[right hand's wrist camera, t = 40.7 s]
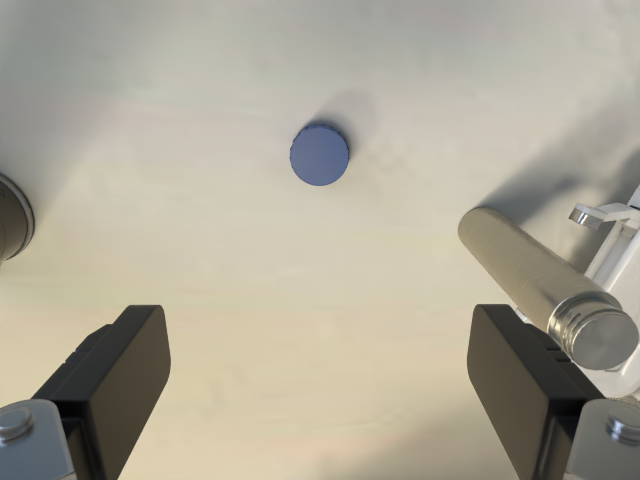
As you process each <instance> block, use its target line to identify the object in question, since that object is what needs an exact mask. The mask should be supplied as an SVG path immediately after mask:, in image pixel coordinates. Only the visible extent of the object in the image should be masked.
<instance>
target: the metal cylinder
mask: <svg viewBox="0 0 640 480" xmlns="http://www.w3.org/2000/svg"><path fill="white" fill-rule="evenodd" d="M458 235H459V238H460V240H461V242H462V243H463V245H464V246H465V247H466V248H467V249H468V250H469V251H470V253H471V254H472V255H473V256H474V257H475V258H476V259H477V261H478V262H479V263H480V264H481V265H482V266H483V267H484V268H485V270H486V271H487V272H488V273H489V274H490V275H491V276H492V278H493V279H494V280H495V281H496V282H497V283H498V284H499V286H500V287H501V288H502V289H503V290H504V291H505V292H506V294H507V295H508V296H509V297H510V298H511V299H512V300H513V302H514V303H515V304H516V305H517V306H518V307H519V308H520V309H521V311H522V312H523V313H524V314H525V315H526V316H527V317H528V319H529V320H530V321H531V322H532V323H533V324H534V325H535V327H537V328H539V329H540V330H542V331H544V332H545V333H547V334H549V335H550V336H551V338H552V339H553V340H554V341H555V342H556V343H557V344H558V345H559V346H560V347H561V351H564V352H565V353H566V354H567V355H568V356H569V357H570V358H571V359H572V360H573V361H574V362H575V363H576V364H577V365H578V366H581V367H583V368H585V369H589V370H594V371H596V370H606V369H610V368H614V367H616V366H618V365H620V364H621V363H623V362H624V361H626V360H627V359H628V358H629V357H630V356H631V355H632V354H633V352H634V351H635V349H636V347H637V345H638V341H639V331H638V328H637V326H636V324H635V323H634V322H633V320H632V318H631V317H630V316H629V315H628V314H627V313H626V312H624V311H623V309H622V306H621V304H620V303H619V301H618V300H617V299H616V298H615V297H614V296H612V295H611V294H610V293H608V292H607V291H606V290H604V289H603V288H601V287H600V286H599V285H597V284H596V283H595V282H593V281H592V280H591V279H589V278H588V277H586V276H585V275H584V274H582V273H581V272H580V271H578V270H577V269H576V268H574V267H573V266H571V265H570V264H569V263H567V262H566V261H565V260H563V259H562V258H561V257H559V256H558V255H556V254H555V253H554V252H552V251H551V250H550V249H548V248H547V247H546V246H544V245H543V244H541V243H540V242H539V241H537V240H536V239H535V238H533V237H532V236H531V235H529V234H528V233H526V232H525V231H524V230H522V229H521V228H520V227H518V226H517V225H516V224H514V223H513V222H511V221H510V220H509V219H507V218H506V217H505V216H503V215H502V214H501V213H499V212H498V211H496V210H495V209H493V208H489V207H479V208H476V209H473V210H471V211H470V212H468V213H467V214H466V215H465V216H464V217H463V218H462V220H461V222H460V224H459V228H458Z"/></svg>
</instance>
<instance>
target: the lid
mask: <svg viewBox="0 0 640 480" xmlns="http://www.w3.org/2000/svg"><path fill="white" fill-rule="evenodd" d="M293 142H294V143H293V145H292V147H291V149H290V150H291V152H290V161H291V165H292V168H293V170H294V172H295V173H296V175H297V176H298V177H299V178H300V179H301V180H303V181H304V182H306V183H308V184H311V185H315V186H324V185H328V184H331V183H333V182H335V181H336V180H337V179H339V178H340V177H341V176H342V174H343V173H344V171H345V169H346V168H347V164H348V159H349V155H348V150H349V149H348V147H347V146H346V143H345V142H346V141H345V139H343V137H342V136H341V135H340V132H337V131H336V130H335V129H333V127H329V126H325V125H324V124H323V125H316V124H314V125H313V126H310V127H308V128H307V127H306V129H304V130H303V131H301V132H299V134H298V136H297V137H296V139H294V140H293Z"/></svg>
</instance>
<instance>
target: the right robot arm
mask: <svg viewBox="0 0 640 480" xmlns="http://www.w3.org/2000/svg"><path fill="white" fill-rule="evenodd" d="M32 233H33V216H32V212H31V209H30V207H29V205H28V202H27V201H26V199H25V197H24V196H23V194H22V193H21V192H20V191H19V189H18V188H17V187H16V186H15V185H14V184H13V183H11V182H10V181H9V180H8V179H6V178H5V177H3V176H2V175H0V263H1V262H3V261H5V260H8V259H10V258H12V257H14V256H15V255H17V254H19V253H20V252H21V251H23V250H24V249H25V248H26V246H27V245H28V243H29V242H30V239H31V237H32ZM170 366H171V357H170V349H169V342H168V335H167V328H166V321H165V314H164V310H163V308H162V306H161V305H129V306H128V307H127V308H126V309H125V310H124V311H123V312H122V314H121V315H120V316H119V317H118V318H117V320H116V321H115V322H114V323H113V324H106V325H105V326H103V327H102V328H100V329H98V330H97V331H95V332H93V333H92V334H90V335H88V336H87V337H86V338H85V340H84V341H83V342H82V343H81V344H80V345H79V346H78V347H77V348H76V352H73V353H72V354H71V355H70V356H69V357H68V358H67V359H66V362H65V363H63V364H62V365H61V366H60V367H59V368H58V369H57V370H56V371H55V373H54V374H53V375H52V376H51V377H50V378H49V379H48V380H47V381H46V382H45V383H44V385H43V386H42V387H41V388H40V389H39V390H38V391H37V392H36V393H35V394H34V396H33V397H32V398H31V399H29V400H23V401H19V402H16V403H12V404H9V405H7V406H4V407H2V408H0V480H117V479H118V477H119V475H120V473H121V471H122V470H123V468H124V466H125V464H126V462H127V460H128V458H129V456H130V454H131V452H132V450H133V448H134V446H135V444H136V442H137V440H138V438H139V436H140V434H141V432H142V430H143V428H144V426H145V424H146V422H147V420H148V418H149V416H150V414H151V412H152V411H153V409H154V407H155V405H156V403H157V401H158V399H159V397H160V395H161V393H162V391H163V389H164V387H165V385H166V383H167V381H168V378H169V373H170ZM467 368H468V374H469V378H470V380H471V383H472V385H473V387H474V389H475V391H476V393H477V395H478V397H479V399H480V401H481V403H482V405H483V407H484V409H485V411H486V413H487V415H488V417H489V419H490V421H491V423H492V425H493V427H494V429H495V430H496V432H497V434H498V436H499V438H500V440H501V442H502V444H503V446H504V448H505V450H506V452H507V454H508V456H509V458H510V460H511V462H512V464H513V466H514V468H515V470H516V472H517V474H518V476H519V478H520V480H640V408H638V407H636V406H633V405H631V404H628V403H624V402H621V401H617V400H611V399H607V398H606V397H605V396H604V395H603V394H602V393H601V392H600V391H599V390H598V388H597V387H596V386H595V385H594V384H593V383H592V382H591V381H590V380H589V378H588V377H587V376H586V375H585V374H584V373H583V372H582V371H581V370H580V369H579V367H578V366H577V365H576V364H575V363H574V362H571V359H570V357H569V356H568V355H567V354H566V353H565V352H564V351H561V347H560V346H559V345H558V344H557V343H556V342H555V341H554V340H553V339H552V338H551V336H550V335H549V334H547V333H545V332H544V331H542V330H540V329H539V328H537V327H535V326H534V325H532V324H525V323H524V322H523V321H522V320H521V318H520V317H519V316H518V315H517V314H516V313H515V311H514V310H513V309H512V308H511V307H510V306H509V305H508V304H478V305H476V306H475V308H474V311H473V318H472V325H471V332H470V339H469V347H468V354H467Z"/></svg>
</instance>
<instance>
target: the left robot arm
mask: <svg viewBox="0 0 640 480" xmlns="http://www.w3.org/2000/svg"><path fill="white" fill-rule="evenodd" d="M569 219H571V220H573V221H574V222H576V223H578V224H581V225H583V226H587V227H589V228H591V229H594V230H598V228H599V227H600V225H601V224H602V222H606V221H613V220H616V221H617V222H616V223H615V225H614V226H613V228H612V230H611V231H610V233H609V235H608V236H607V238H606V239H605V241H604V243H603V244H602V246H601V248H600V249H599V251H598V252H597V254H596V256H595V257H594V259H593V260H592V262H591V264H590V265H589V267H588V269H587V270H586V272H585V273H584V275H585V276H586V277H588V278H589V279H591V280H592V281H593V282H595V283H596V284H597V285H599V286H600V287H601V288H603V289H604V290H606V291H607V292H608V293H610V294H611V295H612V296H614V297H615V298H616V299H617V300H618V301H619V303H620V304H621V306H622V309H623V311H624V312H626V313H627V314H628V315H629V316H630V317H631V318H632V320H633V322H634V323H635V324H636V326H637V328H638V331H639V341H638V345H637V347H636V349H635V351H634V352H633V354H632V355H631V356H630V357H629V358H628V359H627V360H626V361H624V362H623V363H621V364H620V365H618V366H616V367H614V368H610V369H606V370H596V371H594V370H589V369H585V368H583V367H581V366H578V365H577V364H576V363H575V362H574V361H573V360H572V359H571V358H570V359H571V362H574V363H575V364H576V365H577V366H578V367H579V369H580V370H581V371H582V372H583V373H584V374H585V375H586V376H587V377H588V378H589V380H590V381H591V382H592V383H593V384H594V385H595V386H596V387H597V388H598V390H599V391H600V392H601V393H602V394H603V395H604V396H605V397H607V398H620V397H624V396H627V395H630V394H631V395H632V396H634V397H635V398H636V399H637V400H639V401H640V184H639V186H638V187H637V189H636V191H635V192H634V194H633V196H632V197H631V199H630V200H629V202H628V204H627V205H624V204H621V203H618V202H617V203H612V204H607V205H602V206H597V207H595V208H592V207H589V206H587V205H584V204H581V203H577V204H576V206H575V208H574V210H573V211H572V213H571V215H570V217H569ZM515 313H516V314H517V315H518V316H519V317H520V318H521V320H522V321H524V322H526V323H529V324H532V325H534V324H533V323H532V322H531V321H530V320H529V319H528V317H527V316H526V315H525V314H524V313H523V312H522V311H521V309H520V308H519V307H517V309H516V310H515Z"/></svg>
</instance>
